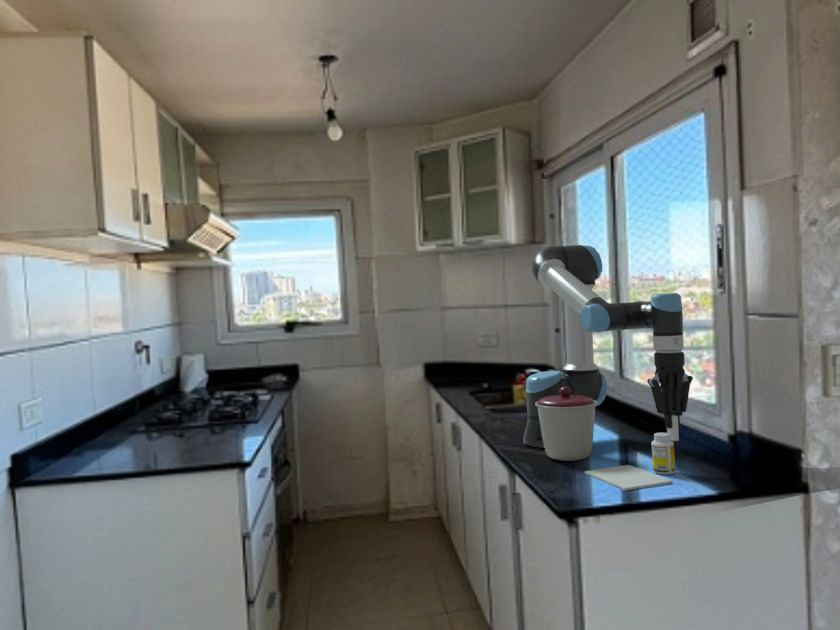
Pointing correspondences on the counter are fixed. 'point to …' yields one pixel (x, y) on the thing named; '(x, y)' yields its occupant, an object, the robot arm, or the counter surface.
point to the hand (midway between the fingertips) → (673, 439)
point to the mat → (628, 477)
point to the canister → (567, 425)
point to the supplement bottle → (663, 454)
